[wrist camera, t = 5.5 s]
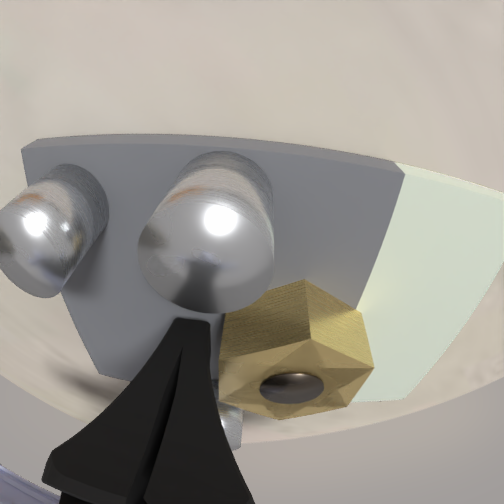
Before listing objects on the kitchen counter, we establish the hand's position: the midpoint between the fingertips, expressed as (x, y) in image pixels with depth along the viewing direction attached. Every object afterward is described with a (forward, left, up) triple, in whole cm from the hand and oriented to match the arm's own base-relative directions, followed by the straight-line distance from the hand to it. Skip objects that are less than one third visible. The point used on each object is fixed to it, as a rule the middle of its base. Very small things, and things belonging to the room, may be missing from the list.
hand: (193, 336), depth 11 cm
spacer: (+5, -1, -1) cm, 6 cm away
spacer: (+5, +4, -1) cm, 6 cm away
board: (0, -3, -2) cm, 3 cm away
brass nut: (0, -4, -1) cm, 4 cm away
